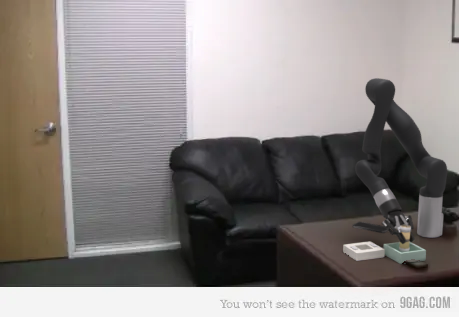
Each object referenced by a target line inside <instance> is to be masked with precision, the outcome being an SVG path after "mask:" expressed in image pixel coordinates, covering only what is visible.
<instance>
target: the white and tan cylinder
mask: <svg viewBox="0 0 459 317" xmlns="http://www.w3.org/2000/svg"><path fill="white" fill-rule="evenodd" d="M400 230H401V233H403V235H404V237H405V239H406V243H404V244H402V243H401V242H400V241H399V242H400V244H399V252H401V253H403V252H409V251H410V247H409V244H410V232H412V230H411V226H409V225H404V224H403V225H400Z"/></svg>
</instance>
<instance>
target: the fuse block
mask: <svg viewBox="0 0 459 317" xmlns="http://www.w3.org/2000/svg"><path fill="white" fill-rule="evenodd" d="M342 248H343V250H342V253H344V254H345V253H346V254H345V255H347V256H348V255H349V256H348V257H349V258H351V259H353V260H354V261H356V262H358V261H365V260H373V259H380V258H381V259H382V258H385V255H384V254H385V249H384V247H381V246H379V245H377V244H375V243H374V242H372V241H362V242H354V243H346V244H343V247H342Z"/></svg>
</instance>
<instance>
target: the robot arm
mask: <svg viewBox="0 0 459 317" xmlns="http://www.w3.org/2000/svg"><path fill="white" fill-rule="evenodd" d="M364 90H365V91H364V92H365V95H366V96H367V99H368V100H369V101H370V102H371V103H372V104H373V105H374V108H373V114H372V116H371V119H370V120H369V122H368V125H367V127H366V128H365V132H364V136H363V142H362V148H361V150H362V152H363V153H364V154H366V155H367V159H360V160H359V161H357V162H356V164H355V168H354V170H355V174H356V175H357V177H358V178H359V179H360V181H361V182H362V183H363V185H365V186H366V187H367V188H368V190H369V191H370V193H371V196H372V197H373V199H374V202H375V204H376V206H377V207H378V210H379V211H380V213H381V215H382V217H383V218H384V220H383V221H382V222H381V226H384V227H385V228H386V229H387V230H388V231H387V232H388V233H389V234H390V235H391V236H393V235H395V236H396V237H397V239H398V242H401V243H402V244H404V243H406V239H405V237H404V235H403V233H401V230H400V225H409V226H411V232H410V242H411V243H413V242H415V240H416V239H415V236H414V234H413V232H412V230H413V229H414V228H415V227H414V223H413V218H412V216H411V215H409V214H408V215H405V213H403V212H402V207H401V205H400V203H399V201H398V200H397V198H396V196H395V195H394V193H393V192H392V190H391V189H390V187H389V185H388V184H387V181H386V180H385V179H384V178H383V177H380V176H379V175H380V173H381V171H382V156H381V148H382V142H383V137H384V136H383V135H384V130H385V126H386V123H387V125H388V127H389V128H390V130H391V131H392V133H393V134H394V136H395V137H396V140H398V142H399V144H401V146H402V147H403V149H404V150H405V152H406V153H407V154H408V156H409V157H410V159H411V162H412V164H413V165H414V168H416V171H417V173H418V174H419V176H421V177H422V178H425V179H426V182H425V186H421V187H420V189H419V195H418V196H419V197H418V211H417V212H418V213H417V215H418V216H417V229H416V230H417V231H416V234H417V235H418V236H420V237H423V238H433V239H434V238H440V236H443V229H444V228H443V227H444V226H443V225H444V213H443V197H444V196H443V195H444V192H445V189H446V186H447V175H448V166H447V164H446V162H445V161H444V160H443V159H440V158H438V157H434V156H432V155H431V154H430V153H429V152H428V151H427V150H426V148H425V146H424V145H423V140H422V132H421V130H420V129H419V127H418V125H417V124H416V122H415V121H414V119H413V118H412V117H411V116H410V115H409V113H407V111H405V110H404V109H403V108H402V107H400V106H399V104H397V102H396V101H395V100H394V98H395V95H396V94H395V93H396V86H395V84H394V83H393V81H392V80H390V79H386V78H378V77H377V78H371V79H369V80H368V81H367V82H366V85H365V89H364Z"/></svg>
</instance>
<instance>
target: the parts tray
mask: <svg viewBox="0 0 459 317" xmlns="http://www.w3.org/2000/svg"><path fill="white" fill-rule="evenodd" d="M399 244H400V241H398V242H391V243H383V249H385V254H384V256H386V257H388V258H389V259H391V260H392V261H394V262H397V263H398V264H400V265H403V264H402V263H403V262H404V261H406V260H411V259H415V260H420V261H419V262H424V261H426V260H427V259H426V256H427V250H426V249H424V248H423V247H421V246H419V245H417V244H415V243H413V242H410V244H409V247H410V251H409V252H403V253H401V252H399Z"/></svg>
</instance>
